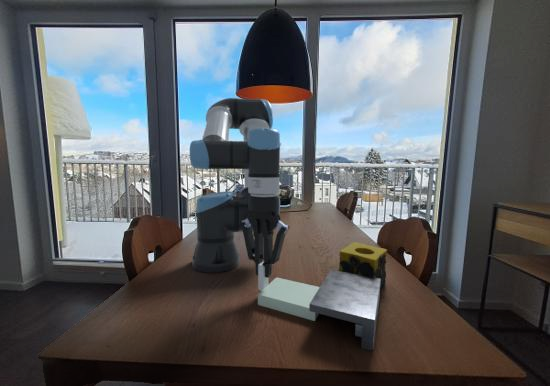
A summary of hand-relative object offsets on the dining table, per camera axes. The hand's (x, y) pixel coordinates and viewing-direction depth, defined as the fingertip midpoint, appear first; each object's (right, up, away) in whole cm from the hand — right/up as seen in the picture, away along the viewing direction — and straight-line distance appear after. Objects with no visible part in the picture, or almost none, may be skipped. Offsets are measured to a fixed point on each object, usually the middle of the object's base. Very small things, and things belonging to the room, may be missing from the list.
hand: (263, 288), depth 65 cm
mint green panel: (+7, -3, -2) cm, 8 cm away
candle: (+27, -2, +7) cm, 28 cm away
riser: (+19, -3, -8) cm, 21 cm away
